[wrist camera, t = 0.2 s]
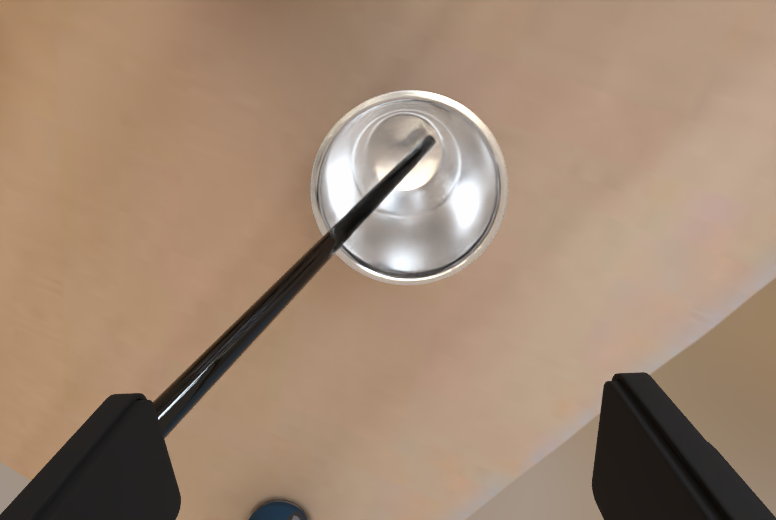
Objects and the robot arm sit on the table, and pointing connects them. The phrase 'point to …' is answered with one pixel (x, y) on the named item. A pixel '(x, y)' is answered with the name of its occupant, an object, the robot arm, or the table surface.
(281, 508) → the soda can
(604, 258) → the table surface
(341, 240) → the silver tumbler with straw
